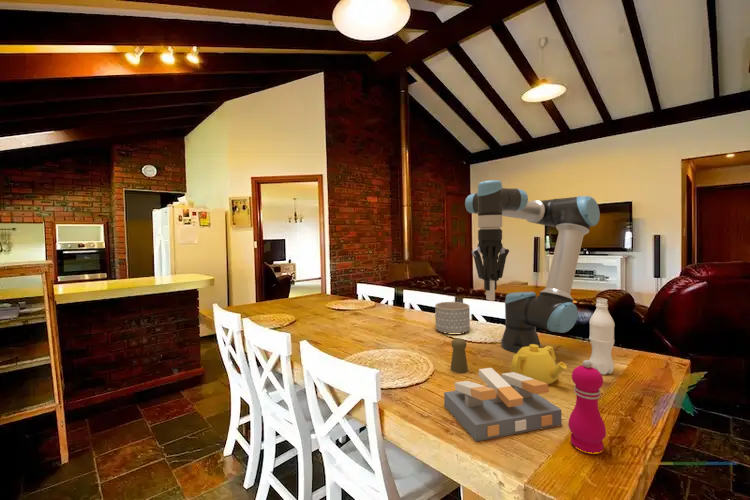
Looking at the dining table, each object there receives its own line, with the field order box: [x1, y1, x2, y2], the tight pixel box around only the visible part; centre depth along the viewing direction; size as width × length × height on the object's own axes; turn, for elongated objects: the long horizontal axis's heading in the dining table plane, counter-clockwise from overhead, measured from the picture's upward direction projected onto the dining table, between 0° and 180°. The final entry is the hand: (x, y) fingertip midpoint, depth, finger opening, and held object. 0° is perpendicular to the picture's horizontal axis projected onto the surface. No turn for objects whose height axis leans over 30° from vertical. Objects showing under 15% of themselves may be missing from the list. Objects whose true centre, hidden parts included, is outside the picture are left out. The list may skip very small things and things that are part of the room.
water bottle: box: [588, 298, 616, 376], centre depth 116 cm, size 7×7×25 cm
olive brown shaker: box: [450, 338, 469, 374], centre depth 121 cm, size 6×6×11 cm
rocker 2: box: [477, 367, 523, 407], centre depth 91 cm, size 4×14×2 cm, turn 14°
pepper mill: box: [568, 359, 607, 453], centre depth 77 cm, size 7×7×20 cm
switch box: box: [443, 383, 562, 442], centre depth 91 cm, size 24×17×6 cm
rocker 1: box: [454, 380, 496, 400], centre depth 89 cm, size 4×14×2 cm, turn 14°
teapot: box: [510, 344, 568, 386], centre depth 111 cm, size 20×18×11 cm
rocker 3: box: [501, 371, 550, 395], centre depth 93 cm, size 4×14×2 cm, turn 14°
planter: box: [434, 301, 471, 334], centre depth 168 cm, size 16×16×13 cm
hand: (490, 299), depth 113 cm, fingers closed
